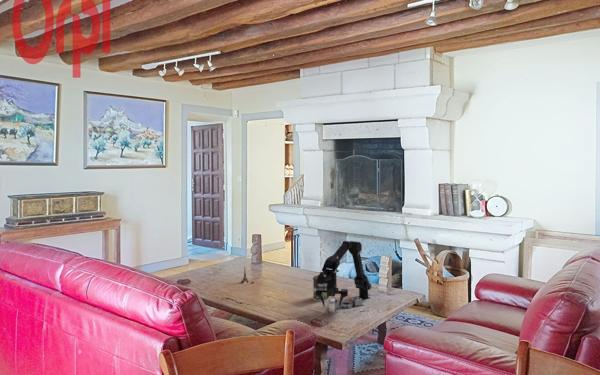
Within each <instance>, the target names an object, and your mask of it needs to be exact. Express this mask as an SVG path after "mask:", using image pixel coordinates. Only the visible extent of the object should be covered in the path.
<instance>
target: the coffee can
mask: <svg viewBox="0 0 600 375" xmlns="http://www.w3.org/2000/svg"><path fill="white" fill-rule="evenodd" d="M317 277H318V275H314V276H313V277H312V297H313V298H312V300H314V301H318V302H322V300H321V298H320V297H318V295H315V292H316V289H317V288H323V290H326V288H327V283H324V284H320V283H319V282H318V280H317ZM329 299H330V296H329V297H328V296H327V294H325V293H324V302H325V301H329Z"/></svg>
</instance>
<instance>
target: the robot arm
mask: <svg viewBox="0 0 600 375" xmlns="http://www.w3.org/2000/svg"><path fill="white" fill-rule="evenodd" d="M362 250H363V248H362V243H361V242H360V241H354V240H350V241H349V240H343V241H342V243H341V245H340V246H339V248H338V249H337V250H336V251H335V253H334V254H332V255H331V256H328V257H327V258H326V259H325V261H324V263H323V266H322V268H321V271H320V272H319V274H318V275H317V276H318V277H317V280H318V282H319V283H320V284H324V283H327V288H326V290H323V288H317V289H316V292H315V295H318V297H320V298H321V300H322V301H321V302H322V305H323V306H322V307H325V301H324V293H325V294H327V296H328V297H329V298H330V297H335V296H336V295H340V297H339V301H340V303H339V307H340V305H341V302H343V300H344V298H346V297H348V296H349V289H347V288H340V290H339V287H338V286H337V282H338V281H337V277H338V276H337V273H338V272H339V270H338V268H339V266H340V264H341V262H340V261H341V259H342V258H343V257H344V256H345V255H346V253H347V252H349V253H350V254H351V256H352V261H353V264H354V265H353V266H354V270H355V278H353V282H354V285H355V289H358V295H357V296H356V297H359V298H361V299H362V300H365V299H370V300H371V297H370V296H369V291H370V290H371V289H372V284H371V283H370V281H369V278H368V276H367V275H366V274H365V271H364V268H363V266H364V265H363V261H362V257H361V256H362V255H361V252H362Z"/></svg>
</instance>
